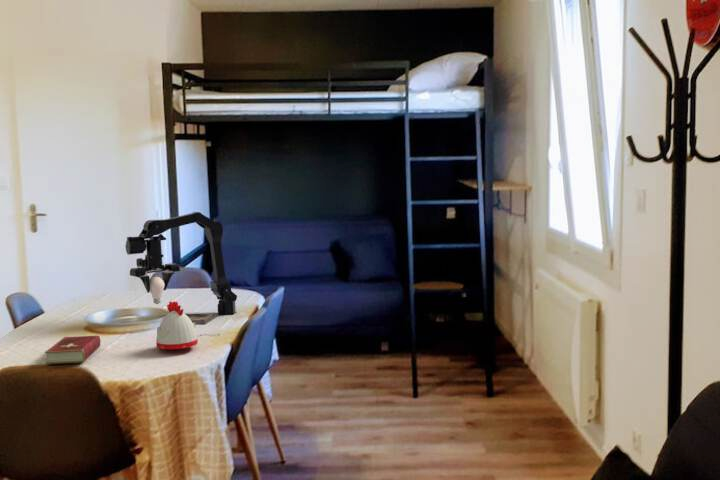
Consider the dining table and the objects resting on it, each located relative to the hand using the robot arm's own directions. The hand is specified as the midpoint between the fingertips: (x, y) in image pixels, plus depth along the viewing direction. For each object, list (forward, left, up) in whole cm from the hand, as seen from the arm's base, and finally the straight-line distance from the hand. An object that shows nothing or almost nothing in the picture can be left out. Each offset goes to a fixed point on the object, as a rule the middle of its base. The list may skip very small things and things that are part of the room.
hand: (156, 291), depth 288 cm
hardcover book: (+9, +47, -14) cm, 50 cm away
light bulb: (0, 0, -5) cm, 5 cm away
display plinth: (-13, -6, -13) cm, 19 cm away
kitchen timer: (-21, +33, -13) cm, 41 cm away
